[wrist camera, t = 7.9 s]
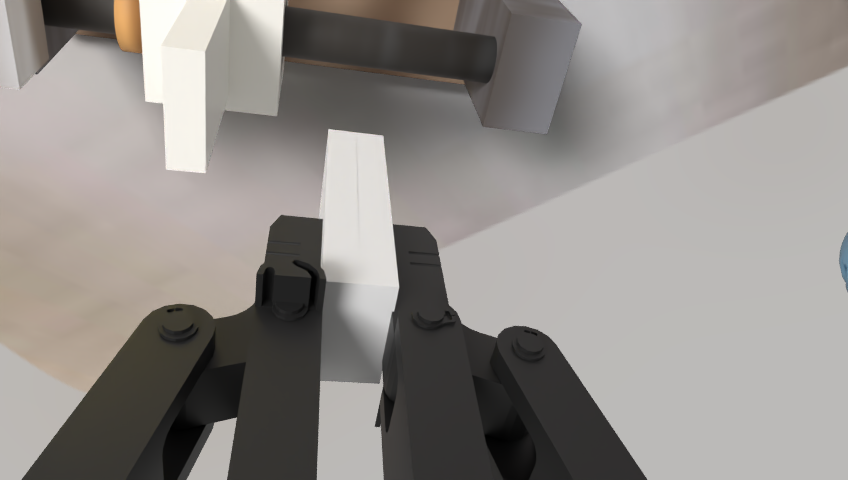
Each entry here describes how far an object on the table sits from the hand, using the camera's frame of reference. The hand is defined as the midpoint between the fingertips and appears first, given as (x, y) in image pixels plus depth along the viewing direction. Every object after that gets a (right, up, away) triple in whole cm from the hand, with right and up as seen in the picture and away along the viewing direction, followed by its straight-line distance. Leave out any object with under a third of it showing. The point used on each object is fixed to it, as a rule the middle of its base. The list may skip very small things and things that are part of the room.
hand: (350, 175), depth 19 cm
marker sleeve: (-6, +8, +10) cm, 15 cm away
